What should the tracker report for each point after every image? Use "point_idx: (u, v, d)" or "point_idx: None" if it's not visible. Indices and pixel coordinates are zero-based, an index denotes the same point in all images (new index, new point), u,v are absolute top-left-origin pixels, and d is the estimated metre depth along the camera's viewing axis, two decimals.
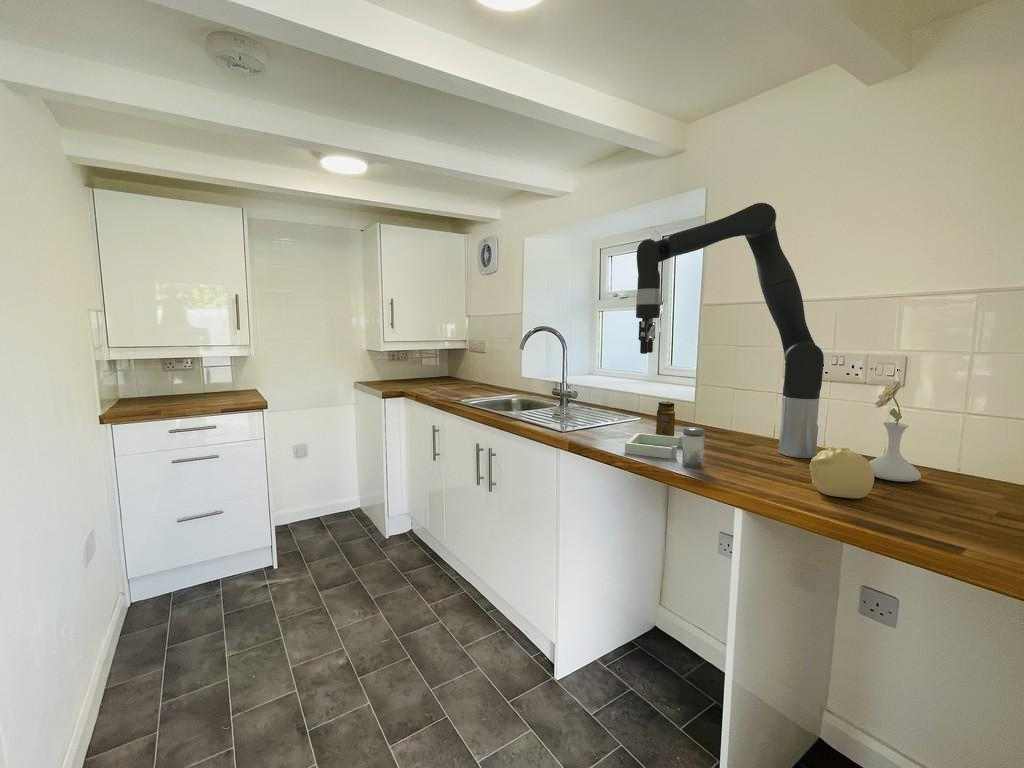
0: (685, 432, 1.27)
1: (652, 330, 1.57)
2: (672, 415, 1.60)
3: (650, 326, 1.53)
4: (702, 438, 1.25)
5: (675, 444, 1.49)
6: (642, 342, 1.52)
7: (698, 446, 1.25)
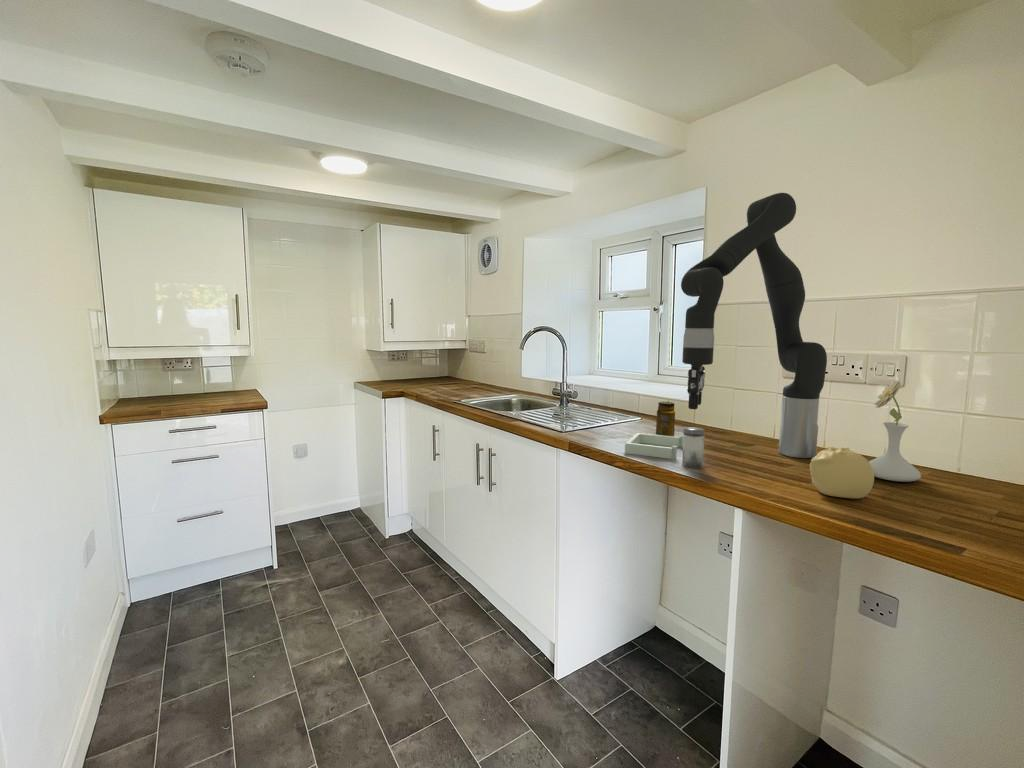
0: (685, 432, 1.27)
1: (702, 378, 1.27)
2: (672, 415, 1.60)
3: (701, 375, 1.23)
4: (702, 438, 1.25)
5: (675, 444, 1.49)
6: (692, 395, 1.22)
7: (698, 446, 1.25)
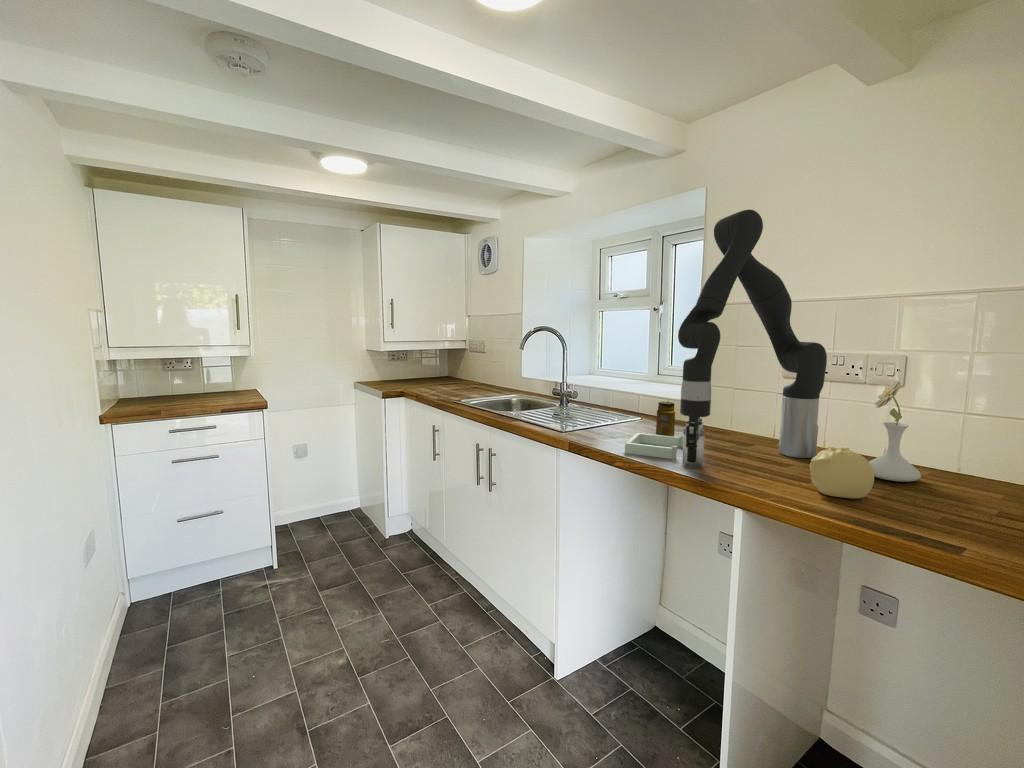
0: (685, 432, 1.27)
1: None
2: (672, 415, 1.60)
3: (699, 426, 1.25)
4: (702, 438, 1.25)
5: (675, 444, 1.49)
6: (690, 449, 1.24)
7: (698, 446, 1.25)
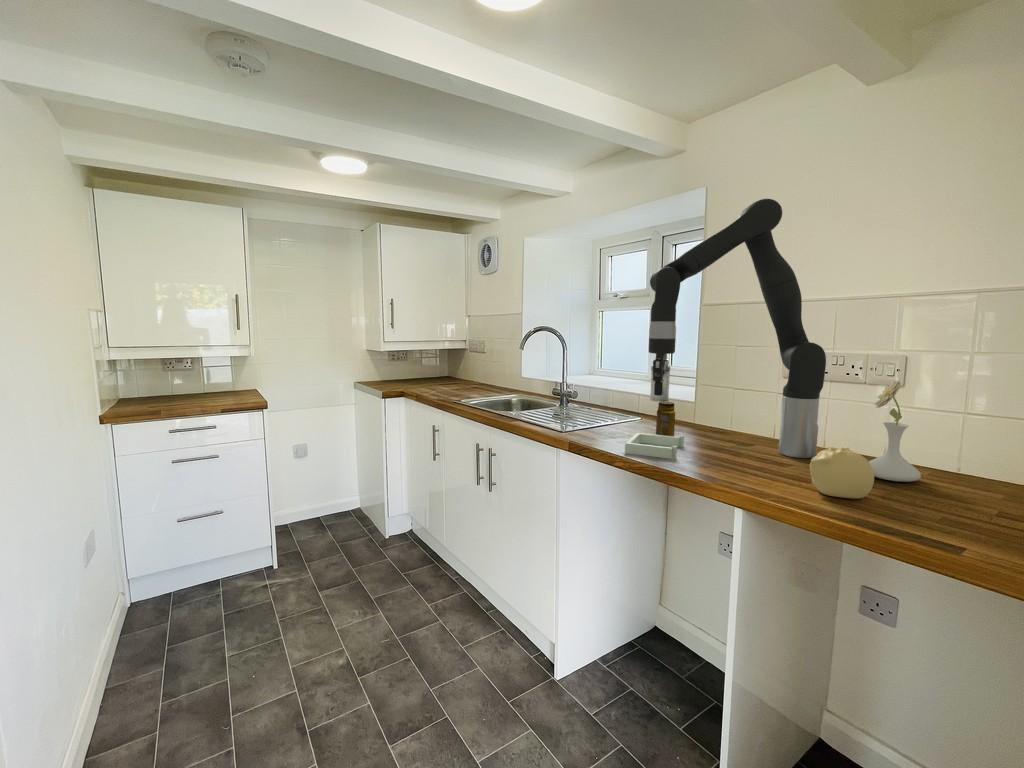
0: (652, 368, 1.40)
1: (666, 366, 1.41)
2: (672, 415, 1.60)
3: (665, 363, 1.38)
4: (667, 373, 1.39)
5: (675, 444, 1.49)
6: (657, 383, 1.38)
7: (664, 380, 1.39)
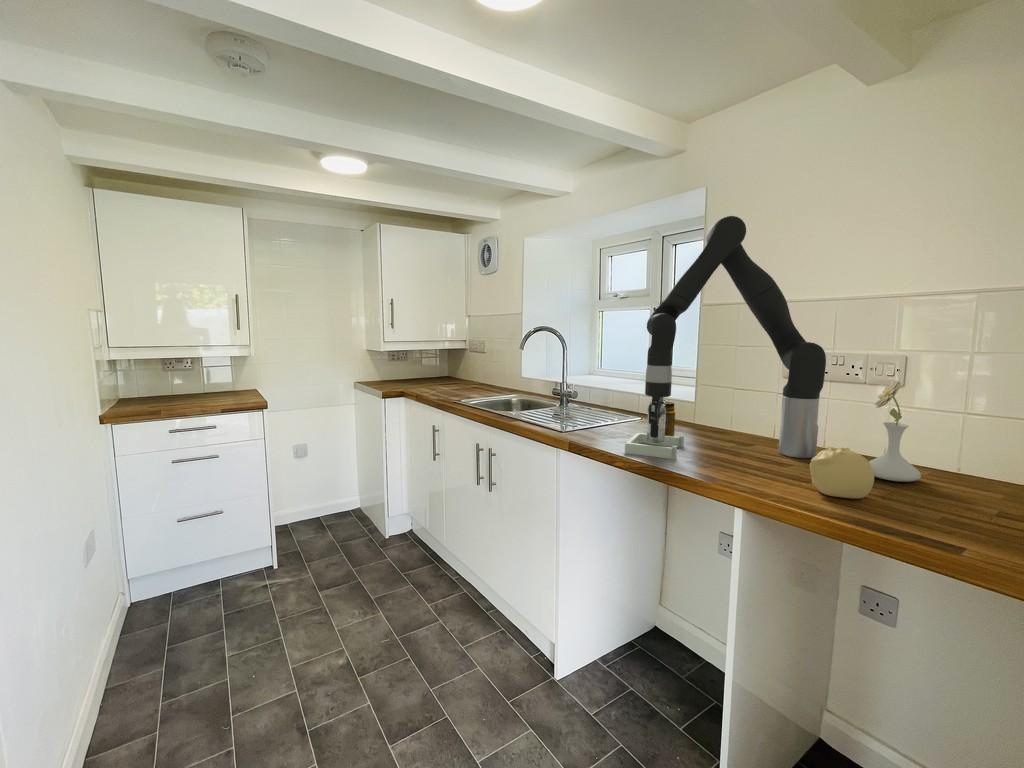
0: None
1: (662, 408, 1.44)
2: (672, 415, 1.60)
3: (660, 406, 1.41)
4: (663, 416, 1.42)
5: (675, 444, 1.49)
6: (653, 425, 1.41)
7: (659, 422, 1.42)
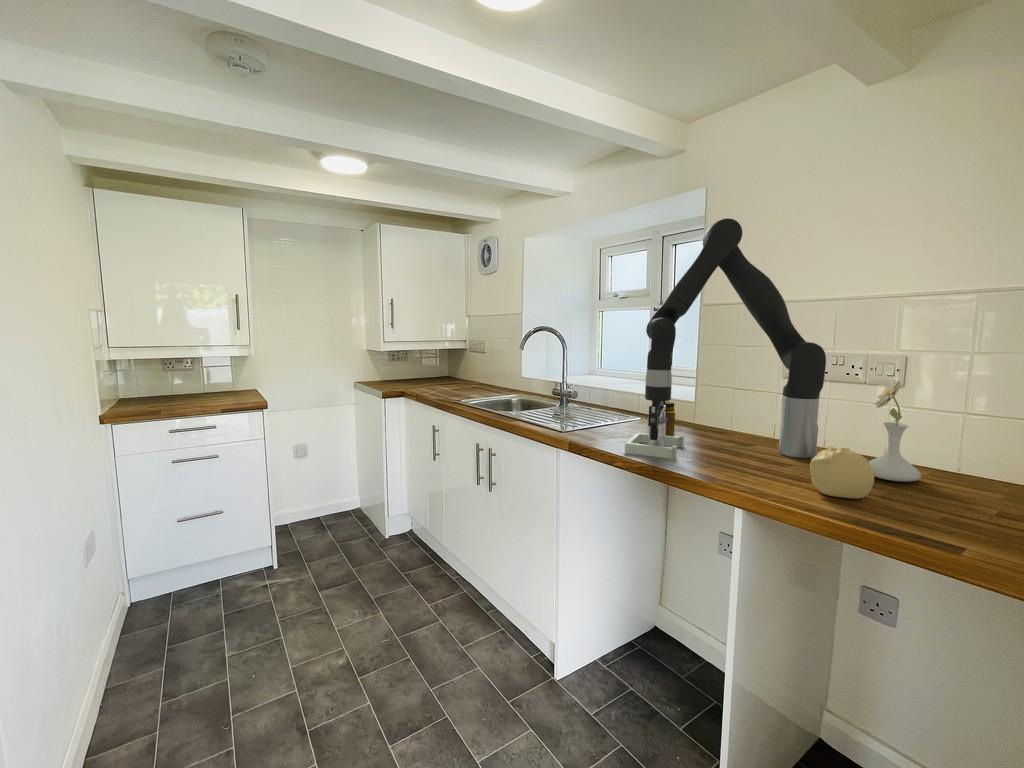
0: None
1: (662, 412, 1.45)
2: (672, 415, 1.60)
3: (661, 410, 1.41)
4: (663, 425, 1.42)
5: (675, 444, 1.49)
6: (652, 428, 1.40)
7: (660, 432, 1.42)
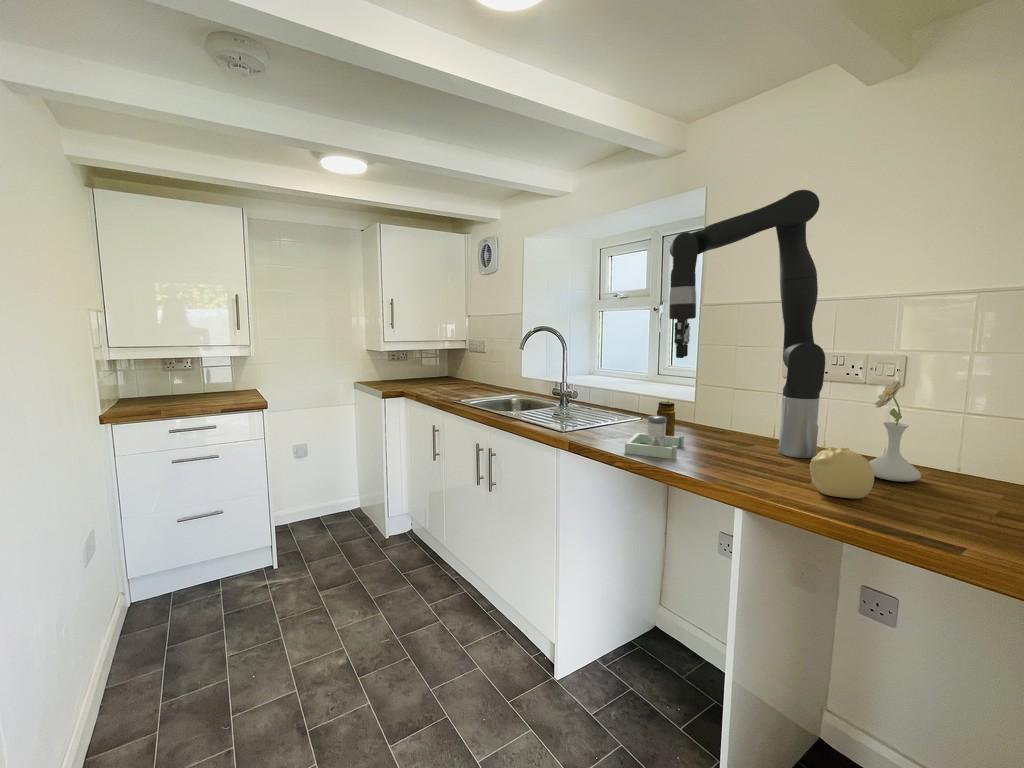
0: (649, 420, 1.43)
1: (687, 332, 1.43)
2: (672, 415, 1.60)
3: (686, 328, 1.40)
4: (664, 425, 1.42)
5: (675, 444, 1.49)
6: (678, 345, 1.38)
7: (660, 432, 1.42)
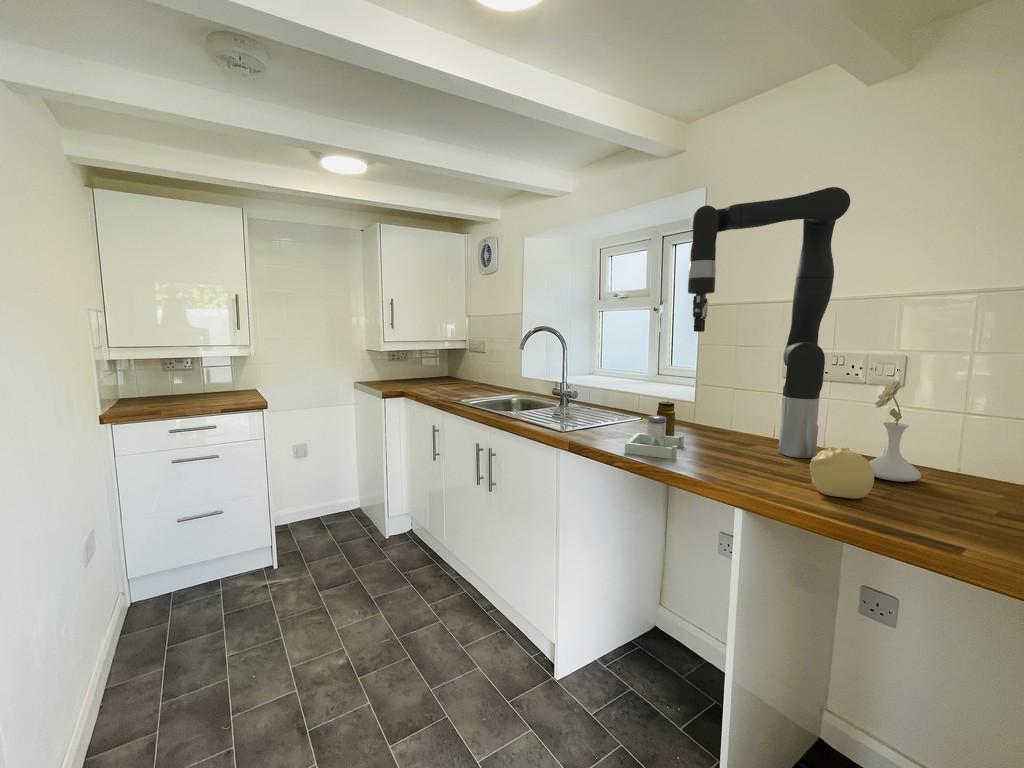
0: (649, 420, 1.43)
1: (705, 307, 1.44)
2: (672, 415, 1.60)
3: (705, 302, 1.40)
4: (663, 425, 1.42)
5: (675, 444, 1.49)
6: (696, 319, 1.39)
7: (660, 432, 1.42)
